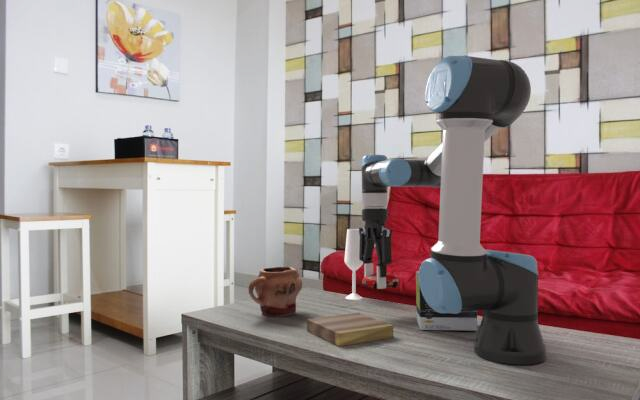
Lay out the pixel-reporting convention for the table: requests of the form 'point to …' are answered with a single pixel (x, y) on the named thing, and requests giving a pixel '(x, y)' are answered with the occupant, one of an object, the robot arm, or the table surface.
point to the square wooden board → (349, 329)
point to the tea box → (441, 316)
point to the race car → (390, 281)
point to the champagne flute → (353, 258)
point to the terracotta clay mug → (276, 290)
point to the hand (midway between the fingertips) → (375, 286)
